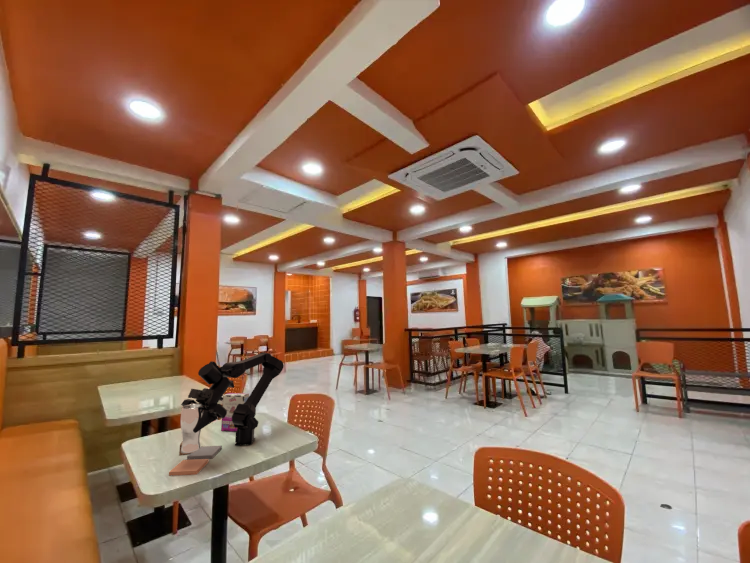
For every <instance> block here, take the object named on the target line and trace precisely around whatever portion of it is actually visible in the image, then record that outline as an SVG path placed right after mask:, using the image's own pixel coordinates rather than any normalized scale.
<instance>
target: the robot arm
mask: <svg viewBox="0 0 750 563" xmlns="http://www.w3.org/2000/svg"><path fill="white" fill-rule="evenodd" d="M259 365H261V366H262V367H263V368H262V375H261V377H260V378H259V380H258V381H257V383H256V385H255V387H254V388H253V389H252V391H251V393H249V397H248V399H247V401H246V402H245V403H244V404H238V405H237V407H236V409H235V410H234V411H233V415H232V422H233V424H234V427H235V428H237V432H235V438H234V440H235V444H234V446H252V444H253V443H254V441H255V440H256V437H255V429H256V428H258V425H259V420H257V419H256V418H255V416H256V413H257V411H256V409H257V406H258V404H259V402H260V401H261V399H262V398H263V396H264V394H265V392H266V391H267V390H268V387H269V386H270V384H271V382H272V381H273V380H274V379H276V378H277V377H278V376H279V375H280V374H281V372H282V371H283V370H284V362H283V360H280V359H279V358H277V357H275V356H273V355H272V354H271V353H269V352H260V353H258V354H256V355H253V356H250V357H248V358H245V359H241V360H237V361H231V362H225V363H224V364H222V366H219V365H218V364H217V363H216V362H215V361H212V360H211V361H210V362H209V363H207V364H204V365H203V366H202V367H200V368H199V370H198V372H197V373H198V376H199V377H200V378H201V379H202V380H203V381H204V382H205V383H206V384H207V385H210V387H209V388H207V387H205V388H202V389H198V388H197V389H195V388H190V392H189V393H188V395H187V399H184V400H183V401H182V403H181V404H180V406H181V407H183V406H185V405H189V404H203V416H202V418H201V419H200V421H199V422H198V424H197V426H196V427H195V429H194V431H193V432H194V433H196V432H198V431H199V430H201V431H202V430H203V429H204V428H205V427H206V426H208V425H209V424H212V423H213V422H215V421H216V420H217V421H218V420H219V419H222V418H223V419H224V418H225V416H226V414H227V410H226V409H225V408H224V407H223V406H222V403H219V401H221V402H222V401H223V395H225V394H226V393H225V392H227V390H228V388H231V389H233V388H234V387H235V383H234V380H231V379H233V378H234V379H238V378H239V377H240V376H242V375H244V374H245V372H246V371H248V370H250V369H252V368H255V367H256V366H259ZM229 378H231V379H229ZM194 399H195V400H194Z"/></svg>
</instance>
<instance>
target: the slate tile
mask: <svg viewBox="0 0 750 563" xmlns="http://www.w3.org/2000/svg"><path fill="white" fill-rule="evenodd" d="M200 446H201V445H200ZM222 447H223V445H204V446H201V448H200V449H199V450H198V451H196V452H193V453H191V454H187V457H186V458H187V459H186V460H193V459H209V460H211V459H213V458H215V456H216V455H217V454H218V453H220V451H221V450H222V449H223V448H222Z"/></svg>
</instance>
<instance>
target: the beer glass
mask: <svg viewBox="0 0 750 563" xmlns="http://www.w3.org/2000/svg"><path fill="white" fill-rule="evenodd" d="M202 416H203V404H199V403H198V404H189V405H185V406H181V413H180V430H181V435H182V436H181V437H182V441H183V442H182V441H181V442H182V447H181V453H193V452H196V451H198V450H199V449H200V448H201V439H200V437H201V432H202V429H201V430H199V431H198V432H196V433H194V432H193V431H194V429H195V427H196V426H197V424H198V422H199V421H200V419H201V418H202Z"/></svg>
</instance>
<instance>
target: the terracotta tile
mask: <svg viewBox="0 0 750 563" xmlns="http://www.w3.org/2000/svg"><path fill="white" fill-rule="evenodd" d="M209 461H210V459H191V460H187V459H183V460H181V461H179V462H178V463H177V464H176V465H175V466H174V467H173V468H171V470H169V471H168V476H171V475H172V476H173V477H174V476H191V475H192V476H194V475H198V474H199V473H200V472H201V471H202V470H203V469H204V467H205V466H207V464H209Z"/></svg>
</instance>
